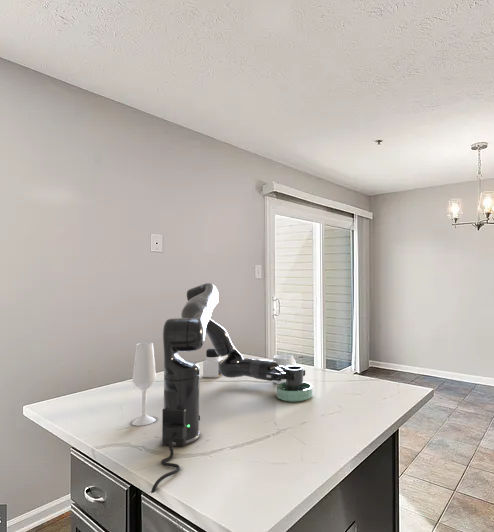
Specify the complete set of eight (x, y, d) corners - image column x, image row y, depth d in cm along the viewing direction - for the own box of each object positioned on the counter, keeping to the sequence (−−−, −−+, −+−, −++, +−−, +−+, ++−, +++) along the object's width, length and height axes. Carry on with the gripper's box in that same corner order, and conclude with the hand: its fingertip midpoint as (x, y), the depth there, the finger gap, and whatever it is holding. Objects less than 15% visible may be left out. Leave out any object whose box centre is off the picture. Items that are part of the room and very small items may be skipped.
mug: (303, 379, 163) (303, 355, 163) (283, 386, 154) (283, 359, 154) (289, 376, 169) (289, 352, 169) (269, 382, 160) (269, 356, 160)
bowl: (308, 403, 133) (308, 392, 133) (272, 401, 135) (272, 390, 135) (315, 392, 146) (315, 381, 146) (281, 390, 148) (281, 380, 148)
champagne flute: (143, 426, 113) (144, 346, 113) (126, 423, 115) (127, 344, 116) (160, 418, 119) (161, 342, 120) (144, 416, 122) (144, 341, 122)
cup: (301, 395, 137) (301, 370, 137) (283, 394, 138) (283, 369, 138) (304, 389, 143) (304, 366, 144) (288, 388, 144) (288, 365, 144)
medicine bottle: (218, 377, 167) (218, 350, 168) (202, 377, 167) (202, 350, 168) (223, 373, 174) (223, 347, 175) (207, 373, 174) (207, 347, 175)
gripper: (251, 363, 141) (289, 369, 133) (274, 356, 154) (309, 361, 146) (251, 384, 141) (289, 390, 133) (274, 375, 154) (309, 380, 146)
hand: (299, 375), depth 140 cm, fingers closed on cup, 6 cm apart
